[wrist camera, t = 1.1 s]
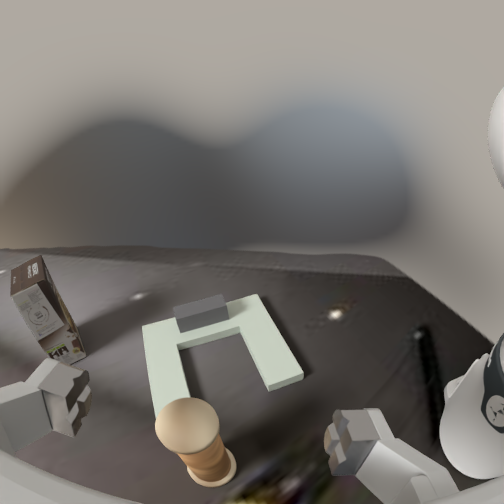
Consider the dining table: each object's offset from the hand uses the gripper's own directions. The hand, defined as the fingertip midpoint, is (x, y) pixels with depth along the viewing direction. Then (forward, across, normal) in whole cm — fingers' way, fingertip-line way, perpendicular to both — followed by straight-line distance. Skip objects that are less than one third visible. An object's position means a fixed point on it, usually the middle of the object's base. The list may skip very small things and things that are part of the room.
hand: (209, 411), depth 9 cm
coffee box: (+36, +26, +26) cm, 51 cm away
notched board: (+33, 0, +20) cm, 38 cm away
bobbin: (+16, -2, +25) cm, 30 cm away
